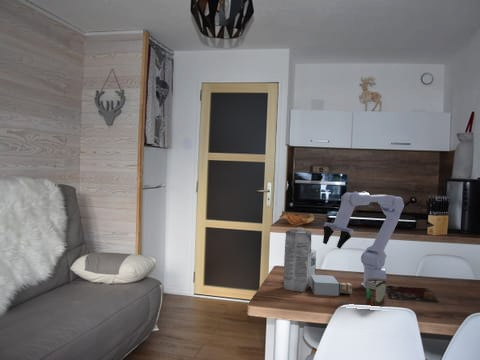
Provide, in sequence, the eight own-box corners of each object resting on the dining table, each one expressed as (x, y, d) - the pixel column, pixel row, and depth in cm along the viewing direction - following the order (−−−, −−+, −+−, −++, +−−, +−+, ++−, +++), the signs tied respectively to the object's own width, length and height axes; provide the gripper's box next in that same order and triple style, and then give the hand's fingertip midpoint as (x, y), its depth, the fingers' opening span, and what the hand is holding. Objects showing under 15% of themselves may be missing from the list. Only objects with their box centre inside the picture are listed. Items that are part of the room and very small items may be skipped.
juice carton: (305, 293, 174) (307, 229, 174) (281, 289, 178) (284, 227, 178) (310, 288, 182) (313, 227, 182) (287, 285, 186) (290, 225, 186)
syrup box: (309, 282, 194) (311, 251, 194) (298, 280, 197) (300, 249, 197) (315, 280, 198) (316, 250, 198) (304, 278, 202) (305, 248, 202)
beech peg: (349, 291, 178) (350, 282, 178) (351, 293, 174) (352, 285, 174) (326, 289, 178) (326, 281, 178) (328, 292, 175) (328, 283, 175)
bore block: (333, 287, 186) (333, 275, 186) (339, 296, 172) (340, 283, 172) (310, 286, 187) (310, 274, 187) (314, 294, 173) (315, 282, 173)
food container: (370, 300, 168) (371, 276, 168) (385, 304, 164) (387, 279, 164) (358, 307, 158) (359, 281, 158) (374, 310, 154) (375, 284, 154)
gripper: (325, 210, 185) (313, 238, 182) (352, 217, 174) (340, 246, 171) (333, 216, 189) (322, 243, 187) (360, 223, 178) (348, 252, 176)
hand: (331, 245), depth 179 cm, fingers open, 7 cm apart
